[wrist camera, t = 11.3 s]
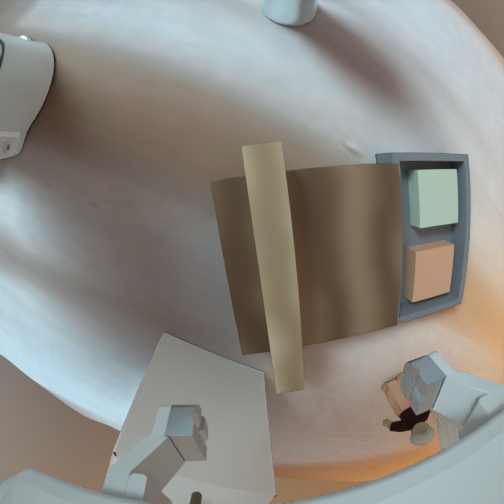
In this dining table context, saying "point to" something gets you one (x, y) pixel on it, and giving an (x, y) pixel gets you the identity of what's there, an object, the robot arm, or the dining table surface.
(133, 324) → the dining table surface
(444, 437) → the shell sculpture
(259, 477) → the gable box
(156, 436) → the robot arm
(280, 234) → the bar
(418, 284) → the terracotta tile
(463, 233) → the box
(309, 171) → the dark wooden square block
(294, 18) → the beer glass
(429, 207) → the sage tile
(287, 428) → the dining table surface
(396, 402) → the grandmother figurine
